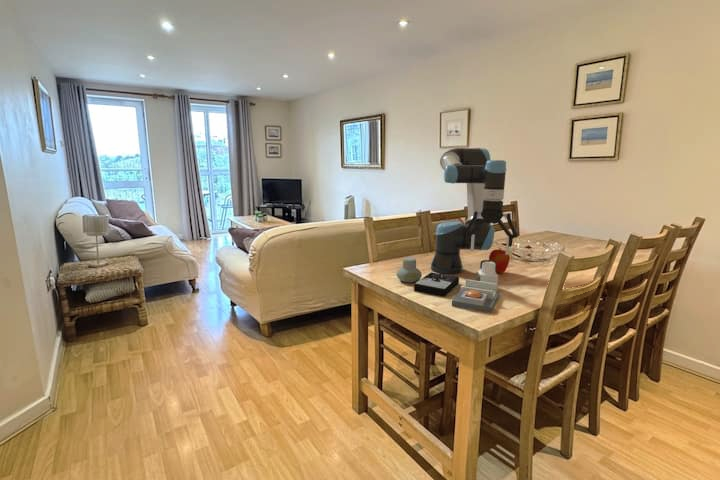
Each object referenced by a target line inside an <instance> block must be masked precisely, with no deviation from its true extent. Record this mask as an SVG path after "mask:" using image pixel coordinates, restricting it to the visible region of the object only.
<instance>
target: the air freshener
mask: <svg viewBox="0 0 720 480" xmlns="http://www.w3.org/2000/svg"><path fill="white" fill-rule="evenodd" d="M396 277H397V279H399V280H400V281H402V282H403V283H408V284H412V283H416V282H418V281H419V280H421V279H422V278H421V277H422V271H421V270H420V269H419V268H417V259H416V258H415V257H404V258H402V267H400V268H399V269H398V270H397V271H396Z"/></svg>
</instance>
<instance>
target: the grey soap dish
mask: <svg viewBox="0 0 720 480" xmlns="http://www.w3.org/2000/svg"><path fill="white" fill-rule="evenodd" d="M476 280H477V279H476ZM476 280H475V279H474V280H473V279H467V278H466V279H465V285H460V289H459V291H458V292H457V293H456V294H455V296H454V297H453V298H452V300H451V306H452V307H455V308H456V307H457V308H462V309H467V310H474V311H477V312H478V311H479V312H484V313H490V314H492V313H493V311H494V309H495V306H496V304H497V301H498V300H499V297H500V290H498V283H490V282H483V281H476ZM469 290H475V291H479V292H481V299H477V298H471V297H467V291H469Z"/></svg>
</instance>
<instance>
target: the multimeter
mask: <svg viewBox="0 0 720 480" xmlns="http://www.w3.org/2000/svg"><path fill="white" fill-rule="evenodd" d="M459 284H460V277H459V276H455V275H451V274H444V273H438V272H434V271H433V272H430V273H428V274H427V275H425V276H424V277H422V278H420V279H419V280H418V281H416V282H414V285H413V286H414V287H413V291H414V292H415V293H420V294H421V293H422V294H427V295H432V296H438V297H441V298H446V297H447V296H448V295H449V294H450V293H451V292H452V291H453V290H454V289H455V288H456V287H457V286H459Z"/></svg>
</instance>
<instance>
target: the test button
mask: <svg viewBox="0 0 720 480" xmlns="http://www.w3.org/2000/svg"><path fill="white" fill-rule="evenodd" d="M467 297H471V298H477V299H481V292H479V291H475V290H469V291H467Z"/></svg>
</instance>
